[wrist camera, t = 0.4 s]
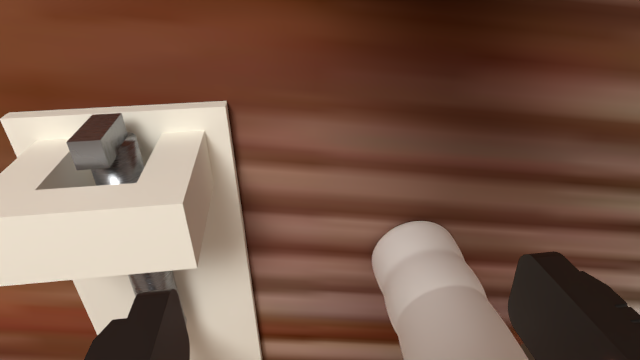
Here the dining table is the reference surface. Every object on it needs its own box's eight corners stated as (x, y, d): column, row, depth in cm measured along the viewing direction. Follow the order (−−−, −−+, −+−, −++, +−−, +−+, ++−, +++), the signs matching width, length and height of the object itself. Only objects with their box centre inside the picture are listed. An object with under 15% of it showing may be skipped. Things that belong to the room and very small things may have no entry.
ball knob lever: (66, 111, 24) (-48, 213, 15) (154, 106, 24) (94, 202, 15) (146, 337, 34) (106, 473, 25) (207, 330, 34) (189, 462, 26)
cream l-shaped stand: (9, 112, 25) (-110, 195, 17) (226, 100, 26) (210, 173, 18) (122, 373, 38) (86, 487, 30) (262, 357, 39) (262, 462, 32)
